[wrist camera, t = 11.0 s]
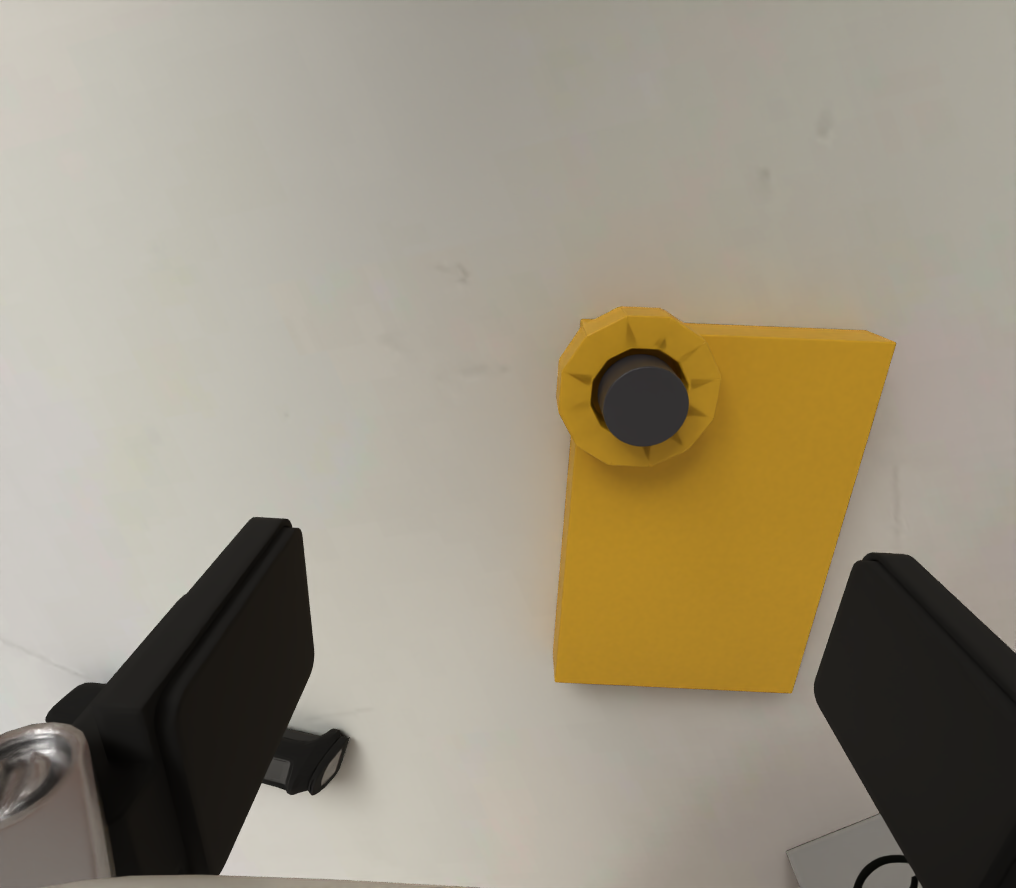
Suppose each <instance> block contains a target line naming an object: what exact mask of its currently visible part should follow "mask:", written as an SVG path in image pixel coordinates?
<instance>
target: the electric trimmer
mask: <svg viewBox="0 0 1016 888" xmlns="http://www.w3.org/2000/svg"><path fill="white" fill-rule="evenodd" d="M105 685H106V684H100V683H84V684H81V685H79V686H77V687H76V688H75V689H73V690H72V691H71V692H70V693H68V694H67V695H66V696H65V697H64V698H63V699H61V700H60V701H59V702H58V703H57V704H56V705H54V706H53V708H52V709H51V710H50V711H49V712H48V714H47V716H46V720H45V721H46V722H47V723H49V722H56V723H63V724H70V725H72V724H73V722H74V721H75V720H76V719H77V718H78V717H79V715H80V714H81V713H82V712H83V711H84V710H85V708H86V707H87V706H88V705H89V704H90V703H91V701H92V700H93V699H94V698H95V697H96V696H97V694H98V693H99V692H100V691H101V690H102V689H103V687H104V686H105ZM349 738H350V737H349ZM349 738H347V737H344V736H340V730H338V729H332V730H330V731H328V732H327V733H325V734H324V735H322V736H318V735H313V734H309V733H304V732H300V731H296V730H292V729H287V728H286V730H285V732H284V734H283V737H282V739H281V741H280V743H279V746H278V748H277V750H276V752H275V754H274V757H273V759H272V761H271V763H270V766H269V768H268V770H267V772H266V774H265V777H264V779H263V781H262V783H264V784H267V785H271V786H275V787H278V788H281V789H284V790H286V791H287V793H288V794H290V795H294V794H297V793H300V792H304V791H309V793H310V794H311V795H315V794H317V793H319V792H320V791H321V790H322V789H324V788H325V787H326V786H327V785H328V783H329V782H330V781H331V780H332V779H333V778H334V777H335V775H336V774H337V772H338V770H339V769H340V766H341V763H342V760H343V757H344V754H345V750H346V748H347V744H348V741H349Z"/></svg>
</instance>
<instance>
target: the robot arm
mask: <svg viewBox="0 0 1016 888" xmlns="http://www.w3.org/2000/svg"><path fill="white" fill-rule="evenodd" d="M313 662H314V644H313V634H312V625H311V615H310V605H309V595H308V585H307V575H306V566H305V556H304V546H303V537H302V532H301V530H300V529H299V528H292V524H291V522H290V521H289V520H288V519H280V518H263V517H253V518H251V519H250V520H249V521H248V522H247V523H246V525H245V526H244V527H243V528H242V529H241V531H240V532H239V533H238V534H237V535H236V536H235V538H234V539H233V540H232V541H231V542H230V543H229V545H228V546H227V547H226V548H225V549H224V550H223V552H222V553H221V554H220V555H219V556H218V558H217V559H216V560H215V561H214V562H213V563H212V565H211V566H210V567H209V568H208V569H207V570H206V572H205V573H204V574H203V575H202V576H201V578H200V579H199V580H198V581H197V582H196V583H195V585H194V586H193V587H192V588H191V589H190V590H189V592H188V593H187V594H185V595H184V596H183V597H182V598H180V599H179V600H178V601H177V602H176V604H175V605H174V606H173V607H172V608H171V609H170V611H169V612H168V613H167V614H166V615H165V616H164V618H163V619H162V620H161V621H160V622H159V623H158V624H157V626H156V627H155V628H154V629H153V630H152V631H151V633H150V634H149V635H148V636H147V637H146V638H145V640H144V641H143V642H142V643H141V644H140V645H139V647H138V648H137V649H136V650H135V651H134V652H133V654H132V655H131V656H130V657H129V658H128V659H127V661H126V662H125V663H124V664H123V665H122V666H121V668H120V669H119V670H118V671H117V672H116V673H115V675H114V676H113V677H112V678H111V679H110V680H109V682H108V683H107V684H106V685H105V686H104V687H103V689H102V690H101V691H100V692H99V693H98V694H97V696H96V697H95V698H94V699H93V700H92V701H91V703H90V704H89V705H88V706H87V707H86V708H85V710H84V711H83V712H82V713H81V714H80V715H79V717H78V718H77V719H76V720H75V721H74V722H73V724H72V725H70V724H63V723H56V722H49V723H40V724H31V725H28V726H25V727H21V728H18V729H15V730H11V731H8V732H6V733H4V734H2V735H0V888H478V887H460V886H442V885H424V884H406V883H388V882H370V881H352V880H333V879H306V878H278V877H251V876H223V875H219V874H220V873H221V871H222V869H223V867H224V865H225V863H226V861H227V859H228V857H229V855H230V852H231V850H232V848H233V846H234V843H235V841H236V839H237V837H238V835H239V832H240V830H241V828H242V826H243V823H244V821H245V819H246V817H247V815H248V812H249V810H250V808H251V806H252V803H253V801H254V799H255V797H256V794H257V792H258V790H259V788H260V786H261V783H262V781H263V779H264V777H265V774H266V772H267V770H268V768H269V766H270V763H271V761H272V759H273V757H274V754H275V752H276V750H277V748H278V746H279V743H280V741H281V739H282V737H283V734H284V732H285V730H286V728H287V726H288V723H289V721H290V719H291V717H292V714H293V712H294V710H295V708H296V706H297V703H298V701H299V699H300V697H301V694H302V692H303V690H304V688H305V686H306V683H307V681H308V679H309V677H310V674H311V671H312V668H313ZM814 694H815V698H816V702H817V704H818V706H819V708H820V710H821V711H822V713H823V715H824V717H825V718H826V720H827V722H828V724H829V725H830V727H831V729H832V730H833V732H834V734H835V736H836V737H837V739H838V741H839V743H840V744H841V746H842V748H843V750H844V751H845V753H846V755H847V757H848V758H849V760H850V762H851V764H852V765H853V767H854V769H855V771H856V772H857V774H858V776H859V778H860V779H861V781H862V783H863V785H864V786H865V788H866V790H867V792H868V793H869V795H870V797H871V799H872V800H873V802H874V804H875V806H876V807H877V809H878V811H879V813H880V814H881V816H882V818H883V820H884V821H885V823H886V825H887V827H888V828H889V830H890V832H891V833H892V835H893V837H894V839H895V840H896V842H897V844H898V846H899V847H900V849H901V851H902V853H903V854H904V856H905V858H906V860H907V861H908V863H909V865H910V867H911V868H912V870H913V872H914V874H915V875H916V877H917V879H918V881H919V882H920V884H921V886H922V888H1016V653H1015V652H1014V651H1012V650H1011V649H1010V648H1009V647H1008V646H1007V645H1006V644H1005V643H1004V642H1003V641H1002V640H1001V639H1000V638H999V637H998V636H996V635H995V634H994V633H993V632H992V631H991V630H990V629H989V628H988V627H987V626H986V625H985V624H984V623H983V622H981V621H980V620H979V619H978V618H977V617H976V616H975V615H974V614H973V613H972V612H971V611H970V610H969V609H968V608H967V607H965V606H964V605H963V604H962V603H961V602H960V601H959V600H958V599H957V598H956V597H955V596H954V595H953V594H952V593H950V592H949V591H948V590H947V589H946V588H945V587H944V586H943V585H942V584H941V583H940V582H939V581H938V580H937V579H936V578H934V577H933V576H932V575H931V574H930V573H929V572H928V571H927V570H926V569H925V568H924V567H923V566H922V565H921V564H919V563H918V562H917V561H916V560H915V559H914V558H913V557H911V556H910V555H905V554H891V553H874V552H872V553H869V554H867V555H866V556H865V557H864V558H863V560H860V561H857V562H856V563H855V564H854V565H853V567H852V570H851V573H850V576H849V579H848V582H847V585H846V588H845V591H844V594H843V597H842V600H841V603H840V606H839V609H838V612H837V615H836V618H835V621H834V624H833V627H832V630H831V633H830V636H829V639H828V642H827V645H826V648H825V651H824V654H823V657H822V660H821V663H820V666H819V669H818V672H817V675H816V678H815V682H814Z"/></svg>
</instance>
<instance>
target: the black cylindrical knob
mask: <svg viewBox="0 0 1016 888" xmlns="http://www.w3.org/2000/svg"><path fill="white" fill-rule="evenodd" d="M598 403H599V406H600V409H601V412H602V415H603V418H604V421H605V423H606V426H607V427H608V429H609V431H610V432H611V433H612V434H613V435H614V436H615V437H616V438H617V439H619V440H620V441H622V442H624V443H626V444H629V445H633V446H640V447H645V446H652V445H656V444H659V443H662V442H664V441H666V440H667V439H669V438H670V437H672V436H673V435H674V434H675V433H676V432H677V431H678V430H679V429H680V427H681V426H682V425H683V423H684V421H685V419H686V416H687V413H688V409H689V397H688V393H687V390H686V388H685V386H684V384H683V382H682V381H681V380H680V378H679V377H678V376H677V375H676V374H675V372H674V371H673V370H672V369H671V368H670V367H669V365H668V364H667V363H665V362H664V361H663V360H661V359H659V358H657V357H655V356H652V355H648V354H634V355H630V356H626V357H624V358H621V359H620V360H618V361H616V362H615V363H614V364H612V365H611V366H610V367H609V368H608V369H607V370H606V372H605V373H604V375H603V376H602V378H601V380H600V383H599V387H598Z"/></svg>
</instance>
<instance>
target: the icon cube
mask: <svg viewBox="0 0 1016 888" xmlns="http://www.w3.org/2000/svg"><path fill="white" fill-rule="evenodd" d="M786 853H787V855H788V858H789V861H790V863H791V866H792V868H793V871H794V873H795V876H796V878H797V881H798V883H799V886H800V888H922V886H921V884H920V882H919V881H918V879H917V877H916V875H915V874H914V872H913V870H912V868H911V867H910V865H909V863H908V861H907V860H906V858H905V856H904V854H903V853H902V851H901V849H900V847H899V846H898V844H897V842H896V840H895V839H894V837H893V835H892V833H891V832H890V830H889V828H888V827H887V825H886V823H885V821H884V820H883V818H882V816H881V814H879V815H876V816H874V817H871V818H869V819H866V820H864V821H861V822H859V823H856V824H854V825H851V826H848V827H846V828H843V829H841V830H838V831H836V832H833V833H831V834H828V835H826V836H823V837H821V838H818V839H816V840H813V841H811V842H808V843H806V844H803V845H801V846H798V847H796V848H793V849H791V850H788V851H786Z"/></svg>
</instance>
